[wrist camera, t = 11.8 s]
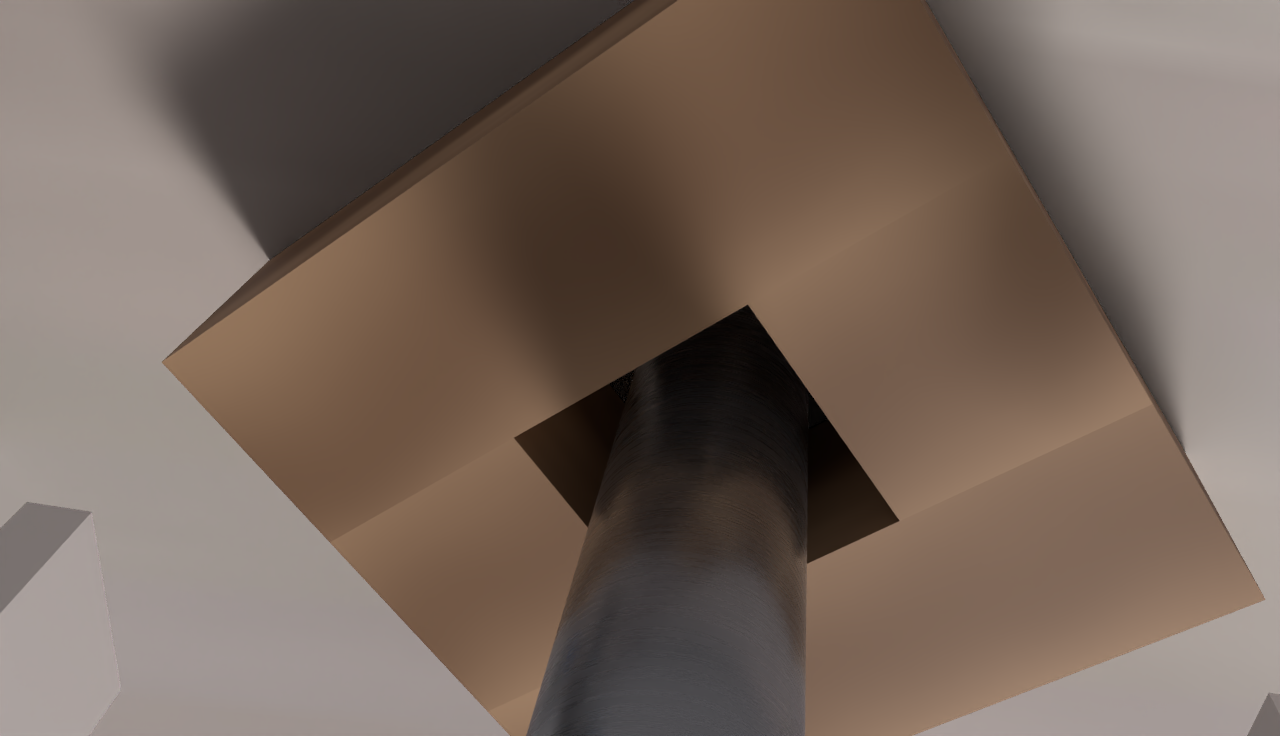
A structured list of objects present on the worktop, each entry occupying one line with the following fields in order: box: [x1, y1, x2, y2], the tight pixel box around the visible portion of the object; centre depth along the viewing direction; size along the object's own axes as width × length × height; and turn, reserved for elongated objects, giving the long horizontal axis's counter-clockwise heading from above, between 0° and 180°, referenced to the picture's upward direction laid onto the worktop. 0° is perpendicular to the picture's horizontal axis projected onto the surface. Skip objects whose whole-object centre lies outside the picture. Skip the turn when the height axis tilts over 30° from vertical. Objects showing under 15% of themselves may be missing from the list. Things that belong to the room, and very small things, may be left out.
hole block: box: [162, 0, 1265, 736], centre depth 19 cm, size 12×12×4 cm
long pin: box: [526, 305, 809, 736], centre depth 15 cm, size 3×3×14 cm
